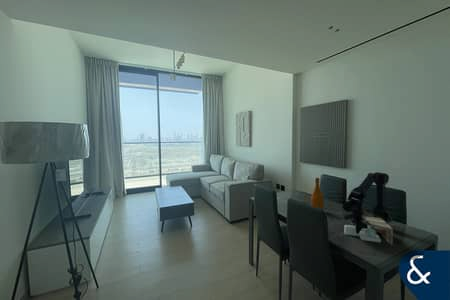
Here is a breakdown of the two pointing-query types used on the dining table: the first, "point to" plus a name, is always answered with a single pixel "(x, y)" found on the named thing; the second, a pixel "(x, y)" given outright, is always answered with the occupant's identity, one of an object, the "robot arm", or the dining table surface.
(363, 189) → the robot arm
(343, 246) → the dining table surface
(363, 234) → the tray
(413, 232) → the dining table surface
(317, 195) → the wine bottle
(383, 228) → the cream wedge slab
